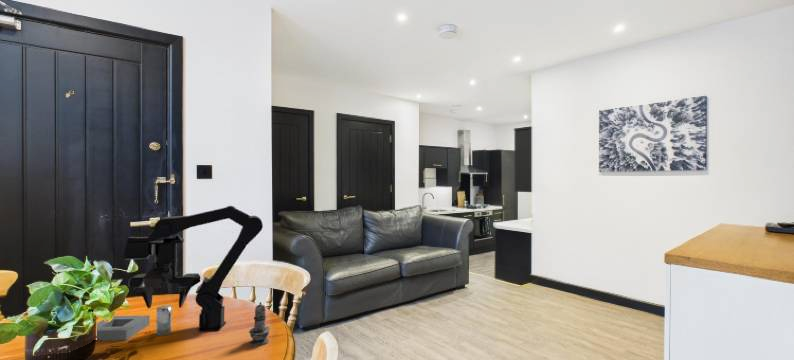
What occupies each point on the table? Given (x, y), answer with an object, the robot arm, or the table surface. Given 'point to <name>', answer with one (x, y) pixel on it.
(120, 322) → the socket block
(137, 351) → the table surface
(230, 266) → the robot arm
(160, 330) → the grey metallic cylinder
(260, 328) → the grey tower figurine
